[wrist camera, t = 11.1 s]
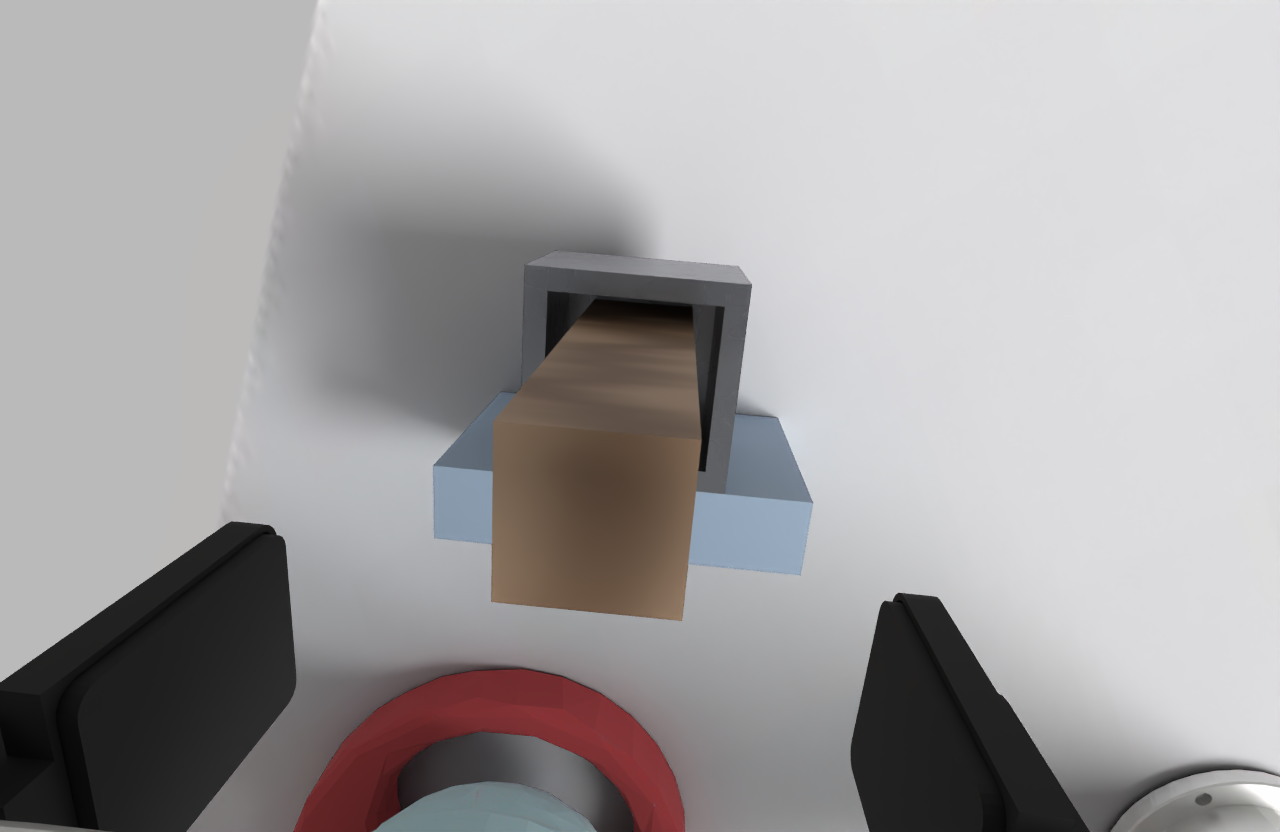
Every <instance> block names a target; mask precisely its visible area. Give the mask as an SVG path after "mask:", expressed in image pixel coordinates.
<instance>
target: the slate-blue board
mask: <svg viewBox="0 0 1280 832" xmlns="http://www.w3.org/2000/svg"><path fill="white" fill-rule="evenodd" d="M515 394H516V393H507V392H500V393H499V394H498V395H497V397H496V398H495V399H494V400H493V401H492V402H491V403H490V404H489V405H488V406H487V408H486V409H485V410H484V411H483V412H482V413H481V414H480V415H479V416H478V417H477V418H476V420H475V421H474V422H473V423H472V424H471V425H470V426H469V427H468V428H467V429H466V430H465V432H464V433H463V434H462V435H461V436H460V437H459V438H458V439H457V440H456V441H455V442H454V444H453V445H452V446H451V447H450V448H449V449H448V450H447V451H446V452H445V453H444V455H443V456H442V457H441V458H440V459H439V460H438V461H437V462H436V463H435V464H434V465H433V486H434V538H437V539H447V540H457V541H467V542H477V543H487V544H492V485H493V421H494V420H495V418H496V417H497V416H498V415H499V414H500V412H501V411H502V410H503V409H504V408H505V406H506V405H507V404H508V403H509V401H510V400H511V399H512V398H513V397H514V395H515ZM812 506H813V502H812V499H811V497H810V494H809V492H808V489H807V487H806V485H805V482H804V480H803V477H802V475H801V473H800V470H799V468H798V465H797V463H796V460H795V458H794V456H793V453H792V451H791V448H790V446H789V444H788V441H787V439H786V436H785V434H784V431H783V429H782V427H781V424H780V422H779V419H778V418H772V417H762V416H751V415H741V414H735V421H734V429H733V436H732V444H731V452H730V460H729V467H728V475H727V483H726V491H725V494H717V493H706V492H696V496H695V505H694V515H693V524H692V533H691V542H690V552H689V561H688V564H693V565H703V566H713V567H723V568H733V569H743V570H753V571H762V572H772V573H782V574H792V575H801V570H802V564H803V559H804V553H805V547H806V541H807V535H808V529H809V524H810V518H811V512H812Z"/></svg>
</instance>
